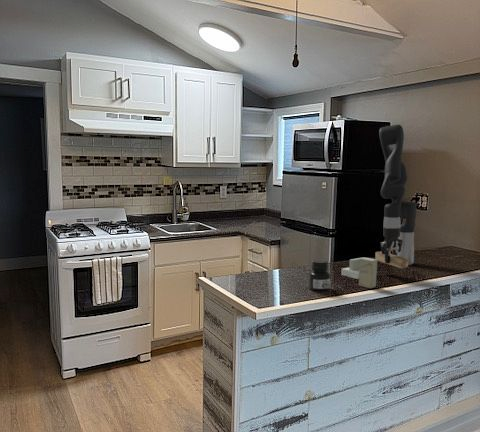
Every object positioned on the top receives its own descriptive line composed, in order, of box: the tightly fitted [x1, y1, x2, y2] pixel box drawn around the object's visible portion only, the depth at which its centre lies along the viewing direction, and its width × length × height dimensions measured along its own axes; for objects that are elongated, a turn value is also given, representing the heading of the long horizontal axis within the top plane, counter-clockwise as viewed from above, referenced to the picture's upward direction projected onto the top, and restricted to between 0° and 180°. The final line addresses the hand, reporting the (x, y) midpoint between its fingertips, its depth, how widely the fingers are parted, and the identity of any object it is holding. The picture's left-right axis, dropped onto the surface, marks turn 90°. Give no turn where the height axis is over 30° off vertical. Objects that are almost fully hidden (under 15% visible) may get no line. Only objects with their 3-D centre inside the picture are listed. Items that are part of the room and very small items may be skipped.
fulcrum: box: [340, 256, 365, 280], centre depth 219 cm, size 12×10×8 cm
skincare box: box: [358, 257, 378, 289], centre depth 199 cm, size 6×4×12 cm
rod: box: [374, 251, 409, 269], centre depth 216 cm, size 4×18×4 cm, turn 22°
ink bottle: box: [308, 259, 331, 292], centre depth 195 cm, size 10×9×12 cm
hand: (391, 262), depth 216 cm, fingers closed on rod, 4 cm apart
